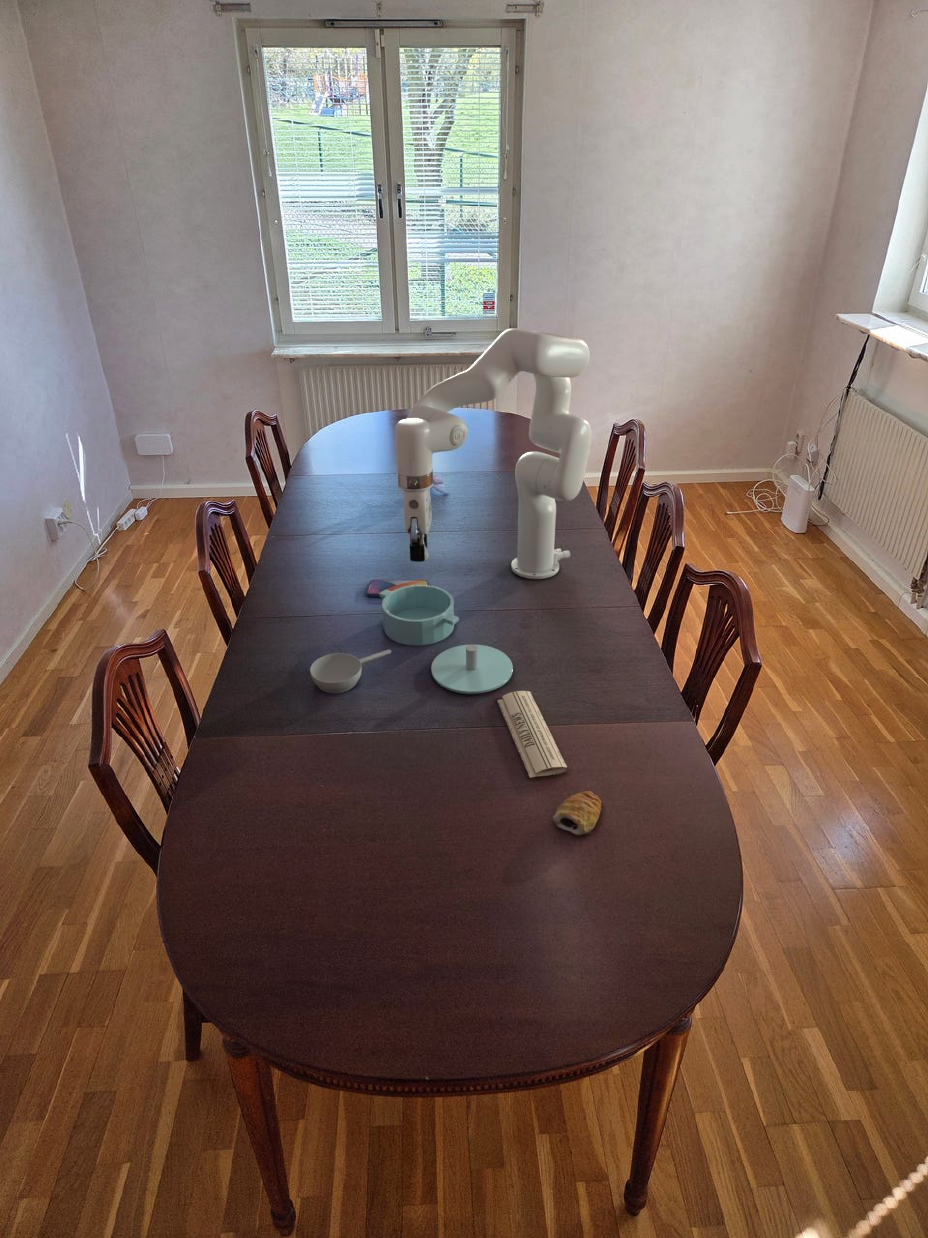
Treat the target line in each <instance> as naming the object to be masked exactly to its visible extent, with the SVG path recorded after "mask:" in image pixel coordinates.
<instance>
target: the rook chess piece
mask: <svg viewBox="0 0 928 1238" xmlns="http://www.w3.org/2000/svg"><path fill="white" fill-rule="evenodd" d="M418 531H421V530H420V529H418ZM417 536H418V537H419V538H420V535H417ZM423 544H424V534H423ZM424 548H425V561H413V563H423V562H426V561H427V560H428V559H429V558H430V555H429V550H428V548H427V549H426V547H425V544H424ZM408 555H409V556H408V558H409V559H410V551H409V553H408Z"/></svg>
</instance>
